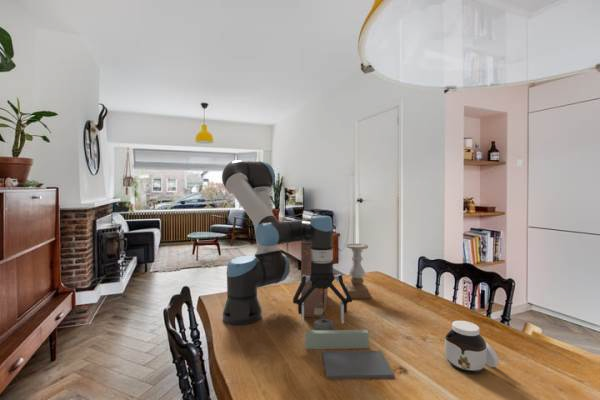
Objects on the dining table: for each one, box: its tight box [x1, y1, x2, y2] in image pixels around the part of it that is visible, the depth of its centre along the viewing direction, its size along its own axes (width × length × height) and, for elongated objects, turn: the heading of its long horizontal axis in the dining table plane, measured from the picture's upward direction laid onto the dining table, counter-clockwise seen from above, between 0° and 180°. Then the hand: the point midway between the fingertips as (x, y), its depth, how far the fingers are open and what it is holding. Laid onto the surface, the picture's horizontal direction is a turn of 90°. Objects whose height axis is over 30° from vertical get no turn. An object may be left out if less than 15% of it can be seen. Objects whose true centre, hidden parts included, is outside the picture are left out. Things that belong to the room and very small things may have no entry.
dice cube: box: [313, 317, 335, 331], centre depth 103 cm, size 5×5×5 cm
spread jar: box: [444, 320, 500, 374], centre depth 85 cm, size 12×11×12 cm
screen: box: [304, 329, 370, 350], centre depth 95 cm, size 20×2×5 cm, turn 91°
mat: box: [322, 350, 395, 380], centre depth 85 cm, size 18×12×1 cm, turn 91°
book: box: [300, 241, 329, 319], centre depth 130 cm, size 25×9×30 cm, turn 172°
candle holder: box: [345, 243, 372, 300], centre depth 143 cm, size 11×11×24 cm
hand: (322, 322), depth 103 cm, fingers open, 13 cm apart
